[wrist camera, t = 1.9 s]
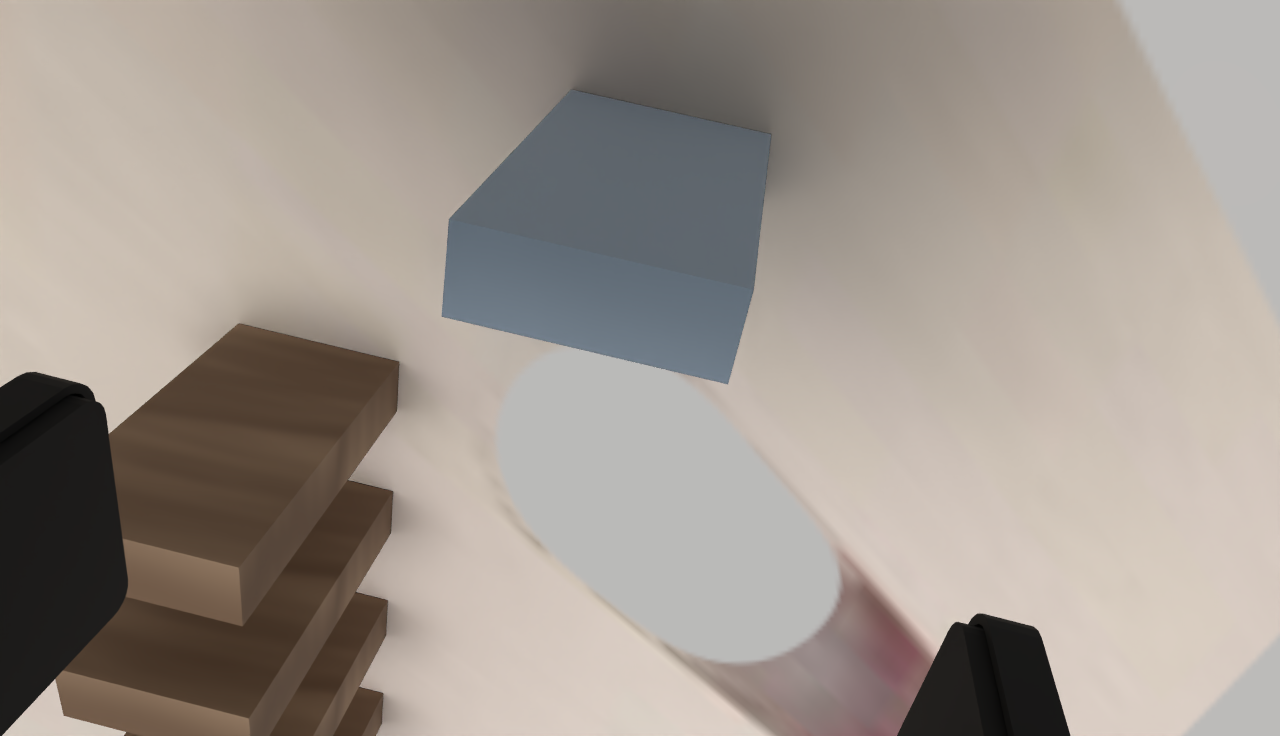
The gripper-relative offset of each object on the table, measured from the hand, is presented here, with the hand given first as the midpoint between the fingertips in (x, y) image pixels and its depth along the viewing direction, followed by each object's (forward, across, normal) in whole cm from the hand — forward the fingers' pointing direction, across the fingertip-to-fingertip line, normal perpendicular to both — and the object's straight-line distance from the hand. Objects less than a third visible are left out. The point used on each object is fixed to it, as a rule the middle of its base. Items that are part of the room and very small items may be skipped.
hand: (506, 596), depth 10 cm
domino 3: (+15, +10, +13) cm, 22 cm away
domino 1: (+15, +1, -1) cm, 15 cm away
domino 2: (+15, +10, +8) cm, 20 cm away
